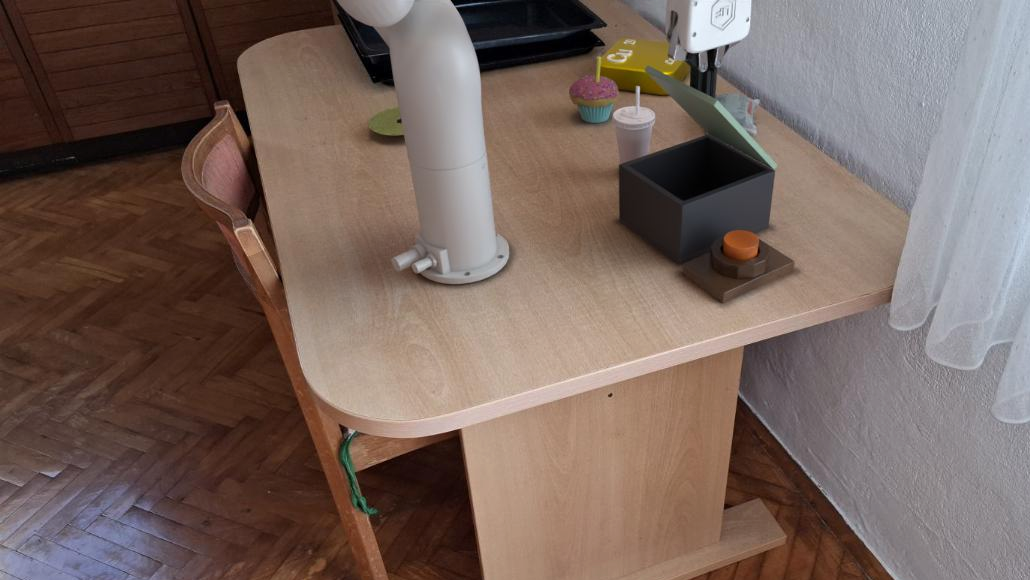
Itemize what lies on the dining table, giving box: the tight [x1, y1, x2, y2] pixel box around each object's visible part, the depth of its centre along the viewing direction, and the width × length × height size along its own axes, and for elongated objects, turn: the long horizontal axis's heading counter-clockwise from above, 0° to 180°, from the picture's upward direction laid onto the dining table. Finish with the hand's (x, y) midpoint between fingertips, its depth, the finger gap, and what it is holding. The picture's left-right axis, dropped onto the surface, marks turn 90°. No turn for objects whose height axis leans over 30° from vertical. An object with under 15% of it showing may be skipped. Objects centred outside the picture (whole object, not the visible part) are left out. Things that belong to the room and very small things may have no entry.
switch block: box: [682, 236, 796, 304], centre depth 110 cm, size 12×8×4 cm, turn 124°
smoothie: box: [611, 86, 656, 164], centre depth 128 cm, size 6×6×14 cm
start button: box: [723, 230, 760, 261], centre depth 108 cm, size 4×4×2 cm
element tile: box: [600, 37, 691, 96], centre depth 160 cm, size 15×15×5 cm
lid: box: [645, 65, 778, 170], centre depth 111 cm, size 17×14×1 cm
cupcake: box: [568, 52, 620, 124], centre depth 145 cm, size 9×8×12 cm
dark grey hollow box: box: [618, 133, 776, 266], centre depth 117 cm, size 16×14×9 cm
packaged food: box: [705, 92, 761, 137], centre depth 142 cm, size 9×12×5 cm
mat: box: [367, 106, 404, 136], centre depth 145 cm, size 11×11×2 cm
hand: (702, 96), depth 109 cm, fingers closed
